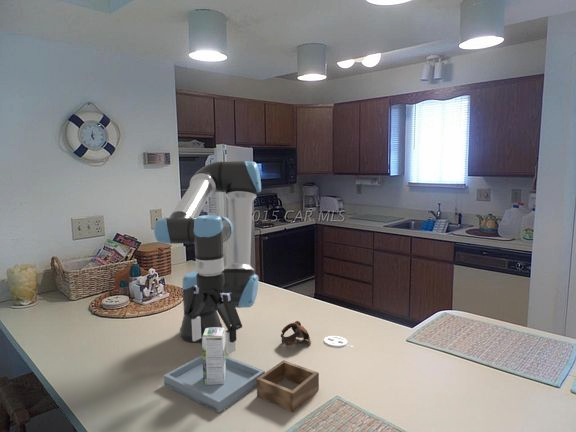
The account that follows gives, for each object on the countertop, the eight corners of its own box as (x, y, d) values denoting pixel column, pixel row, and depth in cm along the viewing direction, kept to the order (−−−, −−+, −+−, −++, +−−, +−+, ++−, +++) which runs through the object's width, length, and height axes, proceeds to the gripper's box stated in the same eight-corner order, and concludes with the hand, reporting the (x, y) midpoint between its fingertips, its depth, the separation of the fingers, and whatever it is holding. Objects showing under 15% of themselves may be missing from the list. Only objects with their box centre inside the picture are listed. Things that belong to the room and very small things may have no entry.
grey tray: (164, 385, 114) (163, 375, 113) (211, 359, 128) (211, 350, 127) (219, 413, 101) (218, 402, 100) (264, 380, 115) (264, 371, 115)
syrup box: (206, 374, 117) (204, 327, 115) (226, 373, 117) (224, 326, 115) (203, 385, 111) (200, 336, 109) (224, 384, 111) (222, 335, 109)
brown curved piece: (313, 351, 133) (301, 333, 130) (288, 361, 135) (276, 344, 132) (312, 327, 144) (301, 311, 142) (289, 337, 146) (278, 321, 144)
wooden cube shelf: (257, 396, 108) (256, 378, 107) (283, 376, 117) (283, 360, 117) (293, 412, 101) (293, 393, 100) (318, 389, 110) (318, 372, 110)
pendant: (329, 336, 144) (329, 334, 144) (358, 343, 138) (358, 341, 138) (320, 343, 138) (320, 341, 138) (349, 352, 132) (349, 349, 132)
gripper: (169, 268, 114) (173, 339, 117) (233, 283, 99) (236, 364, 102) (190, 262, 120) (193, 330, 123) (253, 276, 105) (255, 352, 108)
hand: (213, 345), depth 113 cm, fingers open, 13 cm apart
